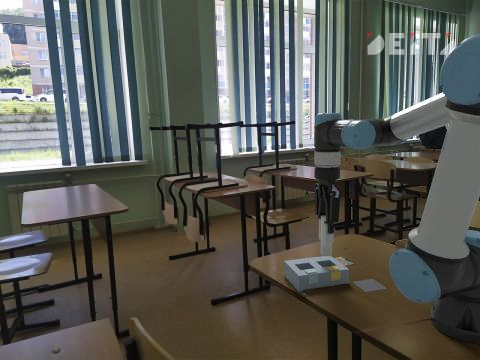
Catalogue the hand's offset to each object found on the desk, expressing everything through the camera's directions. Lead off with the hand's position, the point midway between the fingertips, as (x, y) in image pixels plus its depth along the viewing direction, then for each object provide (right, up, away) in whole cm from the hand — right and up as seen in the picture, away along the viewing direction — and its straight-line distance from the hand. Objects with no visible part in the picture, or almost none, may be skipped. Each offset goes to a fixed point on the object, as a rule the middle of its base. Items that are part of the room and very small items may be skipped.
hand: (326, 241), depth 116 cm
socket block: (-3, -12, +1) cm, 13 cm away
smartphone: (+4, -11, +13) cm, 17 cm away
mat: (+12, -13, -5) cm, 18 cm away
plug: (0, -4, +1) cm, 4 cm away
